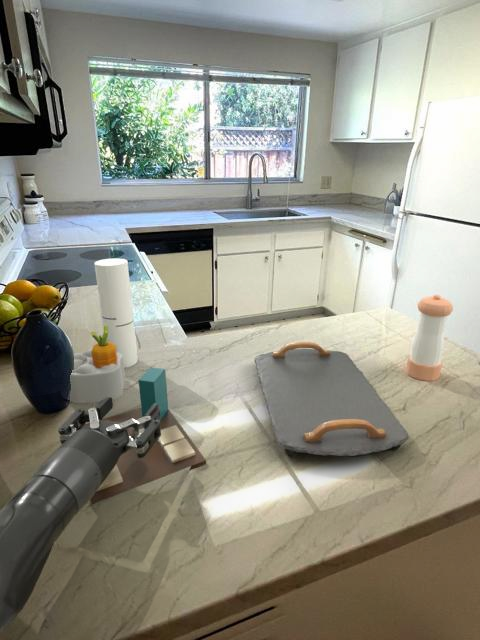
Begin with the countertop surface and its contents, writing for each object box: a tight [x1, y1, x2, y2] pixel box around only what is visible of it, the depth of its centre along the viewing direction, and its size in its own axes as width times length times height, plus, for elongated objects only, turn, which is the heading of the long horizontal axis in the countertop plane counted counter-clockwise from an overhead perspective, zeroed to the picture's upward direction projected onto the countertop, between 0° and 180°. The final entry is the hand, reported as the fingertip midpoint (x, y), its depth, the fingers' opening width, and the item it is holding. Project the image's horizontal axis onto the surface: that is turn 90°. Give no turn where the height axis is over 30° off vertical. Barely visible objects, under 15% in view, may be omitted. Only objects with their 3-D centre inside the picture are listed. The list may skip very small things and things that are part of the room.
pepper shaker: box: [405, 294, 454, 382], centre depth 90 cm, size 7×7×19 cm
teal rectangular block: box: [138, 366, 169, 421], centre depth 75 cm, size 3×5×9 cm, turn 166°
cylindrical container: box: [93, 257, 139, 369], centre depth 95 cm, size 7×7×25 cm
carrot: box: [90, 325, 117, 369], centre depth 83 cm, size 5×5×15 cm
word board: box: [81, 407, 207, 505], centre depth 69 cm, size 18×20×1 cm
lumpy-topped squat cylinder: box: [69, 347, 127, 404], centre depth 84 cm, size 10×13×9 cm
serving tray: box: [254, 341, 410, 458], centre depth 82 cm, size 39×23×6 cm, turn 5°
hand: (133, 404), depth 67 cm, fingers open, 8 cm apart
